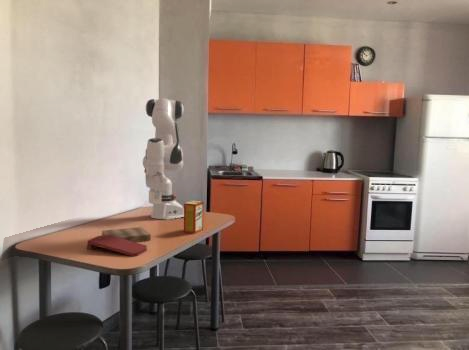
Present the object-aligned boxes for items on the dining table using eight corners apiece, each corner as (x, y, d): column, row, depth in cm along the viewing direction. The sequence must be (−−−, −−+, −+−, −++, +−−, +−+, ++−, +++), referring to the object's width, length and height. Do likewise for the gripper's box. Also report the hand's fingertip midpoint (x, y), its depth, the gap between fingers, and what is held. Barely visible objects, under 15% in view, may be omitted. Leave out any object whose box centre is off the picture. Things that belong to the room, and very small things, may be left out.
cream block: (158, 201, 209) (158, 190, 208) (161, 203, 204) (161, 191, 204) (148, 202, 206) (148, 190, 206) (151, 203, 202) (151, 191, 201)
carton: (147, 256, 184) (100, 242, 191) (149, 246, 184) (101, 232, 190) (133, 264, 173) (83, 249, 179) (135, 253, 172) (85, 239, 178)
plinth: (141, 232, 212) (141, 227, 212) (150, 240, 198) (150, 234, 198) (102, 236, 203) (101, 230, 203) (108, 244, 189) (108, 238, 189)
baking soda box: (194, 233, 213) (195, 203, 212) (183, 232, 216) (184, 202, 214) (202, 229, 222) (203, 200, 220) (192, 228, 225) (192, 199, 223)
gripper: (168, 172, 196) (167, 201, 198) (155, 168, 214) (155, 194, 215) (155, 173, 193) (155, 201, 195) (143, 169, 211) (143, 195, 212)
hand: (155, 198), depth 205 cm, fingers closed on cream block, 5 cm apart
